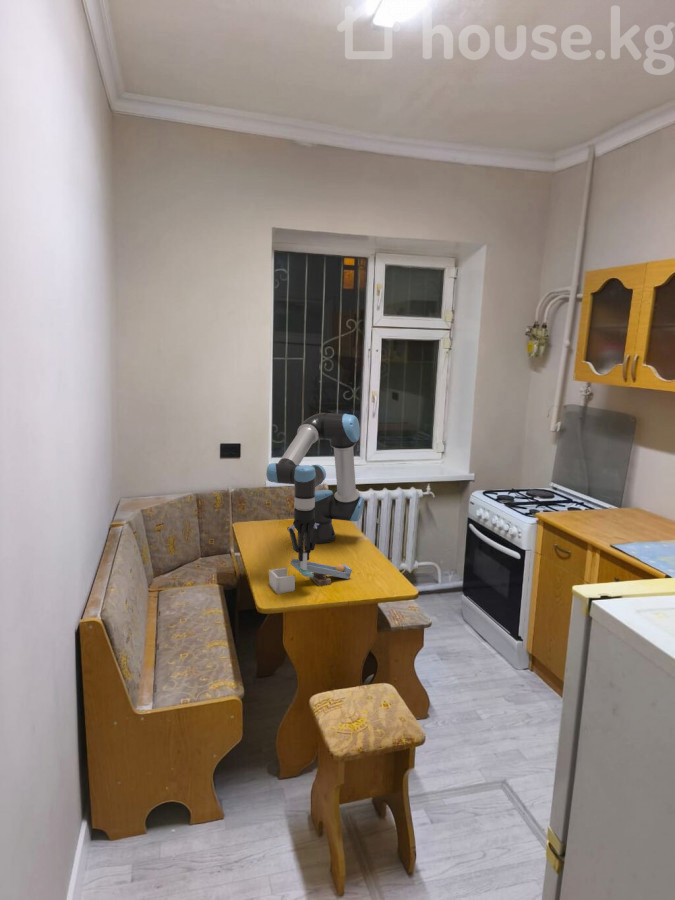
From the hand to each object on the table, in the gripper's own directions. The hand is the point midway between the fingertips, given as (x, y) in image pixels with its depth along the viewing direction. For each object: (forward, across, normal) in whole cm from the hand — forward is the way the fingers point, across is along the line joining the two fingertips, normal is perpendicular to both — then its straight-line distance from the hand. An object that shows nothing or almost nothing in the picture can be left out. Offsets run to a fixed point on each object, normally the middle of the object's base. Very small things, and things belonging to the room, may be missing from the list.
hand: (303, 568), depth 218 cm
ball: (+7, -18, -7) cm, 20 cm away
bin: (+9, +6, -7) cm, 13 cm away
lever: (+5, -10, -3) cm, 12 cm away
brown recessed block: (+9, -10, -7) cm, 15 cm away
